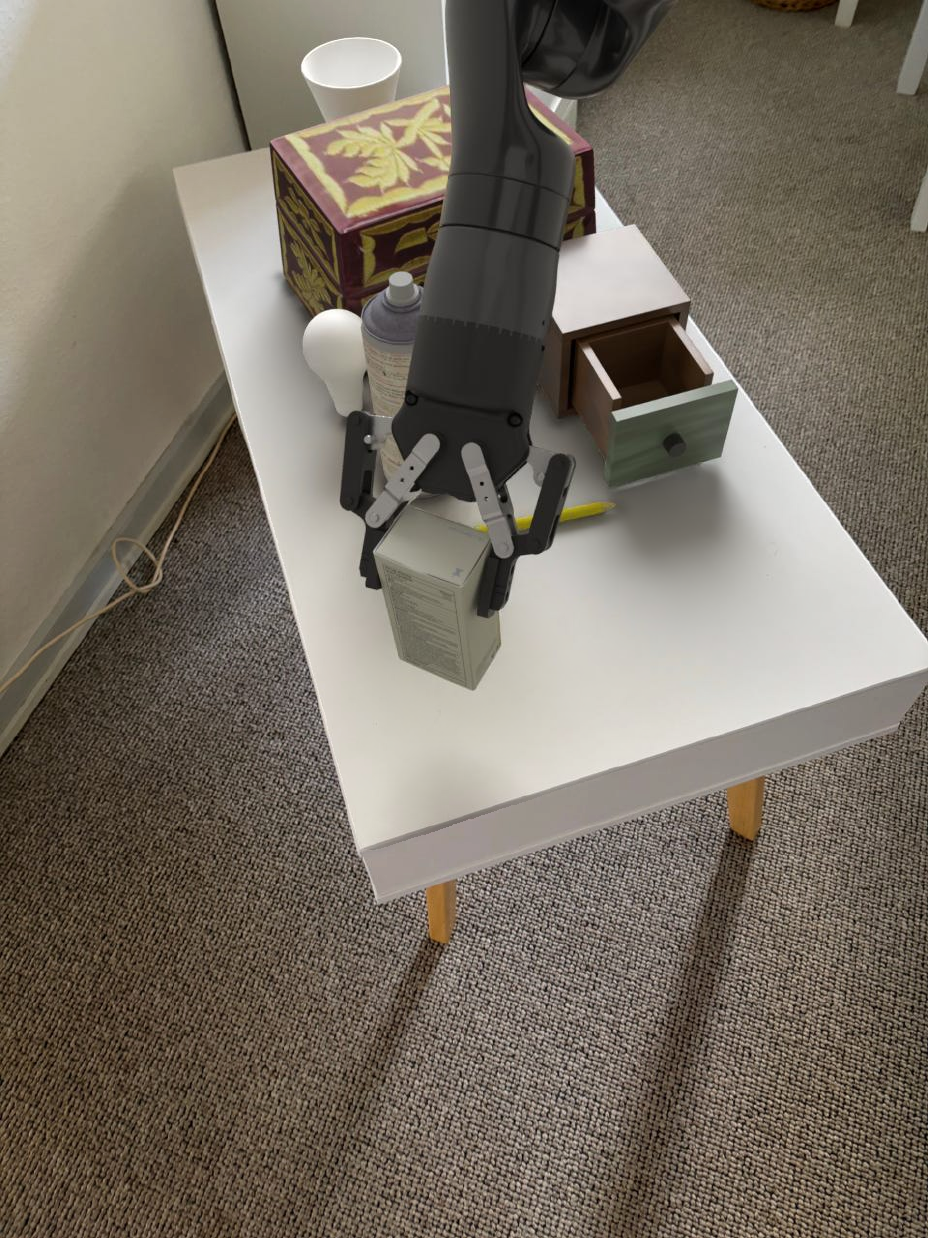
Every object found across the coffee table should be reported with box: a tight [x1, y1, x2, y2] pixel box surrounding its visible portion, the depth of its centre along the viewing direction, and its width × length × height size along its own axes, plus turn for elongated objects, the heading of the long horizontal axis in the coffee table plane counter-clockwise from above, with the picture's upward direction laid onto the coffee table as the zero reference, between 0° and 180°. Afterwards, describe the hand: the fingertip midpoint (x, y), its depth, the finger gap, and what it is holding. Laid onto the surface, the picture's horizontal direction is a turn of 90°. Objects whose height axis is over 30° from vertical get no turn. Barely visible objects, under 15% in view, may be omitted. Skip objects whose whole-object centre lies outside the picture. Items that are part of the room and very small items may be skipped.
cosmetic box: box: [373, 504, 502, 691], centre depth 63 cm, size 6×4×12 cm
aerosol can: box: [361, 272, 440, 499], centre depth 79 cm, size 7×7×20 cm
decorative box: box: [268, 84, 597, 376], centre depth 95 cm, size 28×19×15 cm
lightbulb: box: [302, 309, 367, 418], centre depth 87 cm, size 6×6×11 cm
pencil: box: [473, 501, 617, 534], centre depth 82 cm, size 16×1×1 cm, turn 103°
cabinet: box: [538, 223, 692, 420], centre depth 90 cm, size 12×12×10 cm
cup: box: [300, 37, 403, 123], centre depth 107 cm, size 10×10×14 cm
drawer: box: [571, 314, 739, 490], centre depth 84 cm, size 12×11×8 cm
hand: (430, 600), depth 60 cm, fingers closed on cosmetic box, 6 cm apart
